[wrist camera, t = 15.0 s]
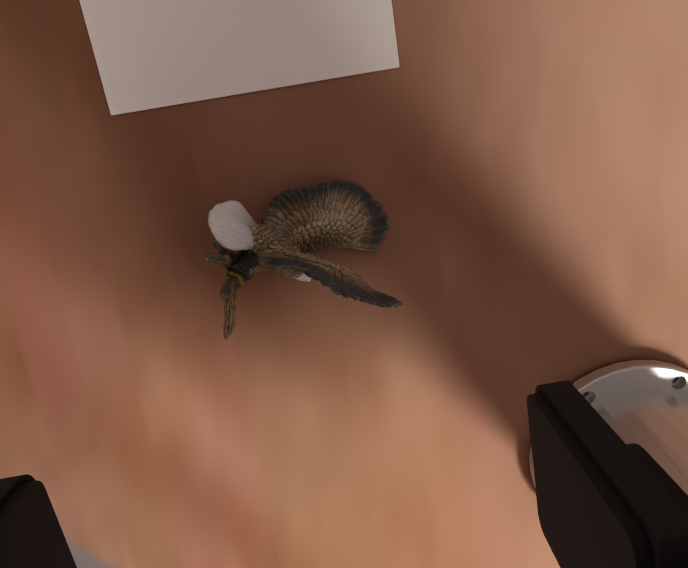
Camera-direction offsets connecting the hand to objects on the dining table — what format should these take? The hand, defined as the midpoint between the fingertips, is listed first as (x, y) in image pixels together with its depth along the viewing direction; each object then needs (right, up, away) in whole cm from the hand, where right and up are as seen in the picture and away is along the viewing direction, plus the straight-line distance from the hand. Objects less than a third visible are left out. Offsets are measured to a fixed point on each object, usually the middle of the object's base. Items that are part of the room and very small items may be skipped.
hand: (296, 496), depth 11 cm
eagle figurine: (-1, +6, +21) cm, 22 cm away
